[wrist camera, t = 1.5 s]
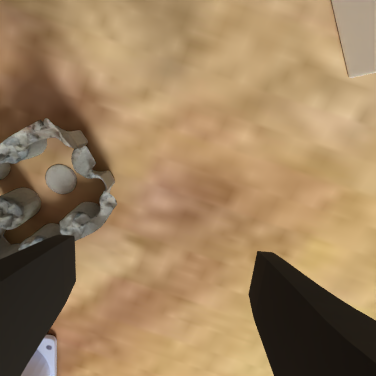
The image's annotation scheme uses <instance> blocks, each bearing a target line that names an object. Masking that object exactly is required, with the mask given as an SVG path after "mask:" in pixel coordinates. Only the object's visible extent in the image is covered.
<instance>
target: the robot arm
mask: <svg viewBox="0 0 376 376" xmlns="http://www.w3.org/2000/svg"><path fill="white" fill-rule="evenodd" d="M75 282H76V268H75V236H72V235H60V234H58V235H55V236H52V237H50V238H47V239H45V240H43V241H40V242H38V243H36V244H34V245H31V246H29V247H27V248H25V249H22V250H20V251H18V252H16V253H13V254H11V255H9V256H7V257H4V258H2V259H0V376H57V339H56V337H55V336H53V335H46V334H47V333H48V331H49V329H50V328H51V326H52V325H53V323H54V321H55V320H56V318H57V317H58V315H59V313H60V312H61V310H62V309H63V307H64V305H65V303H66V301H67V299H68V297H69V295H70V293H71V291H72V288H73V286H74V284H75ZM249 298H250V303H251V308H252V312H253V317H254V320H255V323H256V326H257V329H258V332H259V335H260V338H261V340H262V343H263V346H264V349H265V352H266V354H267V357H268V360H269V363H270V366H271V368H272V371H273V374H274V376H376V320H374V319H372V318H370V317H369V316H367V315H365V314H363V313H362V312H360V311H358V310H356V309H355V308H353V307H351V306H350V305H348V304H347V303H345V302H343V301H342V300H340V299H339V298H337V297H336V296H334V295H333V294H331V293H330V292H328V291H327V290H325V289H324V288H322V287H321V286H319V285H318V284H317V283H315V282H314V281H312V280H311V279H310V278H308V277H307V276H305V275H304V274H303V273H301V272H300V271H299V270H297V269H296V268H294V267H293V266H292V265H290V264H289V263H288V262H286V261H285V260H283V259H282V258H281V257H279V256H278V255H276V254H274V253H273V252H261V251H257V256H256V261H255V266H254V271H253V276H252V280H251V285H250V290H249Z"/></svg>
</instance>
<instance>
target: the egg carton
mask: <svg viewBox="0 0 376 376" xmlns="http://www.w3.org/2000/svg"><path fill="white" fill-rule="evenodd" d="M47 138H58V139H59V140H61V141H62V142H63V143H64V144H65V145H66V146H69V147H72V148H74V151H73V153H72V164H73V167H74V169H75V171H76V172H77V173H79V174H80V175H82V176H84V177H85V178H91V179H92V178H100V179H101V180H102V181H103V182H104V184H105V186H106V189H105V191H104V192H103V194H102V195H101V196H100V206H99V205H98V204H96V203H93V202H83V203H81V204H79V205H78V206H77V207H76V208H75V209H73V210H72V211H71V212H70V213H69V214H67V215H66V216H65V217H64V219H62V220H61V221H60V222H59V223H60V225H59V224H55V223H50V224H47V225H45V226H43V227H42V228H41V229H39V230H38V231H37V232H35V233H34V234H33V235H32V236H31V237H29V238H27V239H25V240H24V241H23V242H22V243H21V244H12V245H11V244H10V243H9V242H8V241H7V240H6V239H5V237H4V232H5V231H6V230H8V229H14V228H17V227H18V226H20V225H21V224H23V223H24V222H26V221H27V220H29V219H30V218H31V217H33V216H34V215H35V214H37V213H38V212H39V210H40V207H41V200H40V198H39V196H38V195H37V193H36V192H34V191H33V190H31V189H29V188H17V189H15V190H13V191H11V192H8V193H7V194H4V195H1V196H0V259H2V258H4V257H7V256H9V255H11V254H13V253H16V252H18V251H20V250H22V249H25V248H27V247H29V246H31V245H34V244H36V243H38V242H40V241H43V240H45V239H47V238H50V237H52V236H55V235H58V234H60V235H72V236H75V241H76V240H79V239H81V238H83V237H85V236H87V235H89V234H91V233H93V232H95V231H96V230H97V229H99V228H100V227H101V226H102V225H103V224H104V223H105V222H106V220H107V218H108V217H109V215H110V214H111V212H112V210H113V209H114V208H115V206H116V205H117V203H116V200H115V198H114V197H113V196H112V195H111V194H110V189H111V187H112V185H113V184H114V183H115V180H114V178H113V176H112V175H111V172H110V171H108V170H106V171H101V172H99V171H94V170H92V169H93V167H94V166H95V164H96V162H95V160H94V158H93V157H92V155H91V153H90V152H89V150H88V148H87V147H86V146H85V145H86V144H87V143H88V141H87V139H86V138H85V136H84V135H83V133H82V132H81V130H76V131H65V130H63V129H61V128H60V127H58V126H54V125H53V124H52V122H51V121H50V120H49V119H47V118H45V119H44V121H43V122H42V121H41V120H39V121H37V122H35V123H33V124H32V125H29V126H27V127H25V128H24V129H22V130H21V131H19V132H17V133H15V134H13V135H11V136H10V137H8V138H7V139H6V140H4V141H3V142H2V143H1V144H0V180H1V179H4V178H5V177H6V176H7V175H8V174H9V172H10V169H11V168H10V163H18V162H19V161H21V160H25V159H29V158H32V157H35V156H38V155H40V154H41V153H42V152H44V150H45V149H46V146H47ZM45 179H46V183H47V185H48V187H49V188H50V189H51V190H52V191H54V192H56V193H59V194H65V193H69V192H71V191H73V190H74V188H75V187H76V183H77V178H76V175H75V173H74V171H73V170H72V169H71V168H69V167H67V166H65V165H60V164H57V165H53V166H51V167H50V168H49V169H48V170H47V172H46V176H45Z"/></svg>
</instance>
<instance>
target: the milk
mask: <svg viewBox="0 0 376 376" xmlns="http://www.w3.org/2000/svg"><path fill="white" fill-rule="evenodd" d="M331 1H332V6H333V10H334V14H335V19H336V23H337V27H338V32H339V36H340V40H341V45H342V49H343V53H344V58H345V62H346V66H347V71H348V75H349V77H350V78H353V77H358V76H362V75H367V74H372V73H376V0H331Z"/></svg>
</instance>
